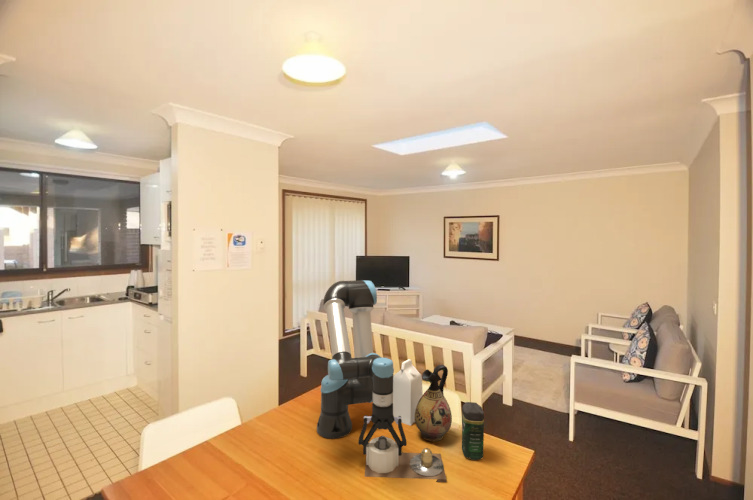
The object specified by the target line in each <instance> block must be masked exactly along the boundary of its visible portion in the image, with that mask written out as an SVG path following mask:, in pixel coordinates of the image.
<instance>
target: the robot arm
mask: <svg viewBox="0 0 753 500" xmlns="http://www.w3.org/2000/svg"><path fill="white" fill-rule="evenodd" d="M377 296H378V295H377V290H376V286H375V284H374V282H372V280H363V279H360V280H340V281H337V282H334V283H333V284H331V286H329V288H328V289H327V290H326V292H325V294H324V297H323V300H322V301H323V303H322V304H323V310H324V311H325V313H326V319H327V326H328V327H327V328H328V335H329V342H330V343H329V344H330V352H331V359H330V360H328V362H327V375H325V376H324V377H323V378H322V380H321V385H320V414H319V417H318V420H317V423H316V432H317V433H316V434H318V435H319V436H321V437H323V438H324V439H325V438H326V439H331V440H332V439H333V440H334V439H340V438H344V437H346V436H348V435H349V434H351V431H352V430H353V422H352V419H351V416H350V413H349V405H357V404H358V405H359V404H367V403H368V404H371V403H372V404H371V405H372V407H371V409H372V410H371V413H372V414H371V416H370V415H369V416H368V415H366V414H365V415H364V416H363V424H362V428H361V430H360V431H361V432H360V434H359V437H358V441H357V442H358V443H357V444H358V445H359V446H361V445H362V448H363V449H362V450H363V451H362V454H363V455H365V456H366V457H365V459H366V460H365V466H366V465H368V459H369V442H370V441H371V440H372V437H373V436H374V434H375V432H376V431H377V430H386V431H387V430H388V432H389V433H390V434H391V436H392V438H393V440H394V441H395V442H396V466H398V456H401V455H402V453H403V447H406V446H408V444H407V442H408V441H407V438H406V434H405V431H404V428H403V423H402V419H401V416H399V417H394V416H393V376H394V373H395V368H394V361H393V360H392V359H390V358H389V357H382V356H380V355H379V354H378V353H376V352H375V353H374V345H373V332H372V331H373V329H372V328H373V327H372V314H371V312H372V311H373V309H374V306H375V305H376V304H377V301H378V300H377V299H378V297H377ZM345 307H348V311H349V312H351V315H352V316H351V317H352V332H353V333H352V335H353V354H354V357H353V356H352V351H351V345H350V338H349V334H348V333H349V332H348V328H347V322H346V316H345ZM370 422H372V424H373V425H372V426H371V428H370V430H369V431H368V433H367V434H366V435H365V433H366V430H367V428H368V427H367V426H368V424H370ZM394 422H395V424H396V425H397V427H398V430H399V433H400V435H398V433H397V432H396V430H395V428H394V426H393V423H394ZM399 436H400V437H401V439H400V437H399ZM364 437H365V438H364Z"/></svg>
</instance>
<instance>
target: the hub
mask: <svg viewBox="0 0 753 500" xmlns="http://www.w3.org/2000/svg"><path fill="white" fill-rule="evenodd" d="M420 453H421V454H419V455H416V456H414V457H413V458H412V459H411V461H410V467H411V469H412V470H413V471H414V472H415V473H417V474H419V475H421V476H426V477H433V476H437V475H439V474H440V473H441V472H442V471H443V468H444V469H445V467H444V463H442V462H443V460H442V461H441V460H440V459H439V458H437V457H436V456H433V455H432V453H433V451H432V450H431V449H430V448H428V447H425V448H422V450H421V452H420Z"/></svg>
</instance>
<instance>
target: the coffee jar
mask: <svg viewBox="0 0 753 500" xmlns="http://www.w3.org/2000/svg"><path fill="white" fill-rule="evenodd" d="M461 408H462V409H461V411H462V413H461V414H462V415H461V417H462V419H461V421H462V422H461V423H462V424H461V450H462V451H461V452H462V454H463V457H465V458H466V459H469V460H472V461H479V460H482V459H483V458H484V445H485V444H484V443H485V442H484V440H485V439H484V438H485V437H484V436H485V435H484V433H485V412H484V409H483V407H482V406H481V405H479V404H478V403H477V402H472V401H467V402H465V403H464V404H462V407H461Z"/></svg>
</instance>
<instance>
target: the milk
mask: <svg viewBox="0 0 753 500" xmlns="http://www.w3.org/2000/svg"><path fill="white" fill-rule="evenodd" d="M423 394H424V392H423V380H422V374H421V373H420V372H419V370H418V369H417V368H416V366H414V365H413V362H412V359H410V358H409V359H407V360H404V361H402V363H401V367H400V370H399V371H397V372H396V373H395V374H393V416H394V417H399V416H401V419H402V423H401V424H404V425H407V426H412V425H413V424H414V423H415V410H416V406H417V404H418V402H419V400H420V398H421V397H422V396H423Z"/></svg>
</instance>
